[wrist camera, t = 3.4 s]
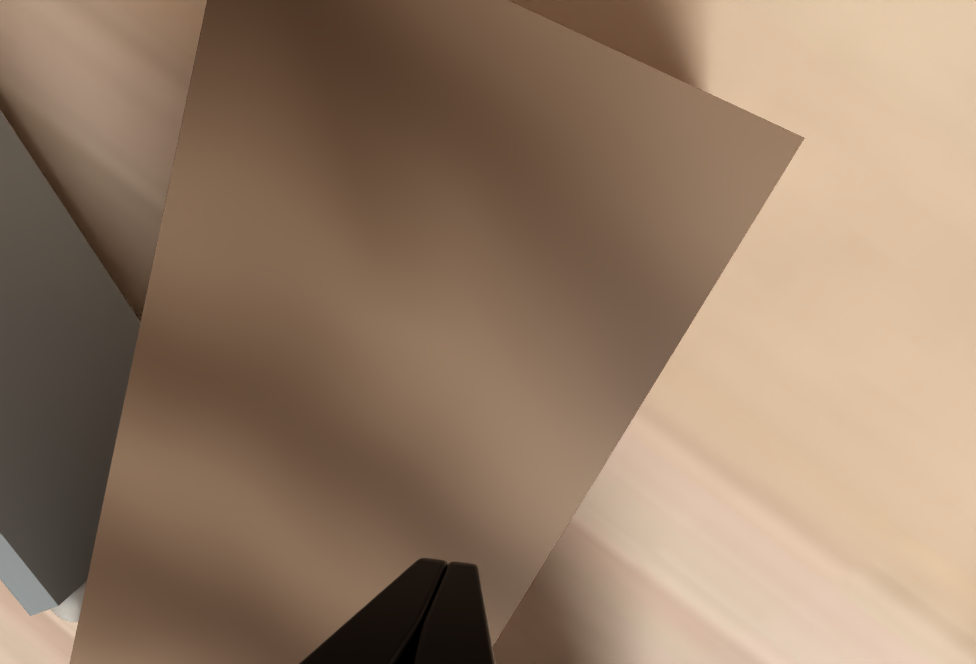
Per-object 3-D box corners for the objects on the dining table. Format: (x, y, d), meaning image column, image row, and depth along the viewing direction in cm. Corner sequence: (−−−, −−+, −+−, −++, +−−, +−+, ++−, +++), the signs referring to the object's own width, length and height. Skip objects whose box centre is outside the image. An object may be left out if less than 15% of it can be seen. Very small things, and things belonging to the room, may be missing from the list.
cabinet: (456, 587, 25) (387, 819, 17) (242, 484, 25) (69, 665, 17) (708, 126, 18) (804, 138, 10) (403, -16, 18) (233, -127, 10)
